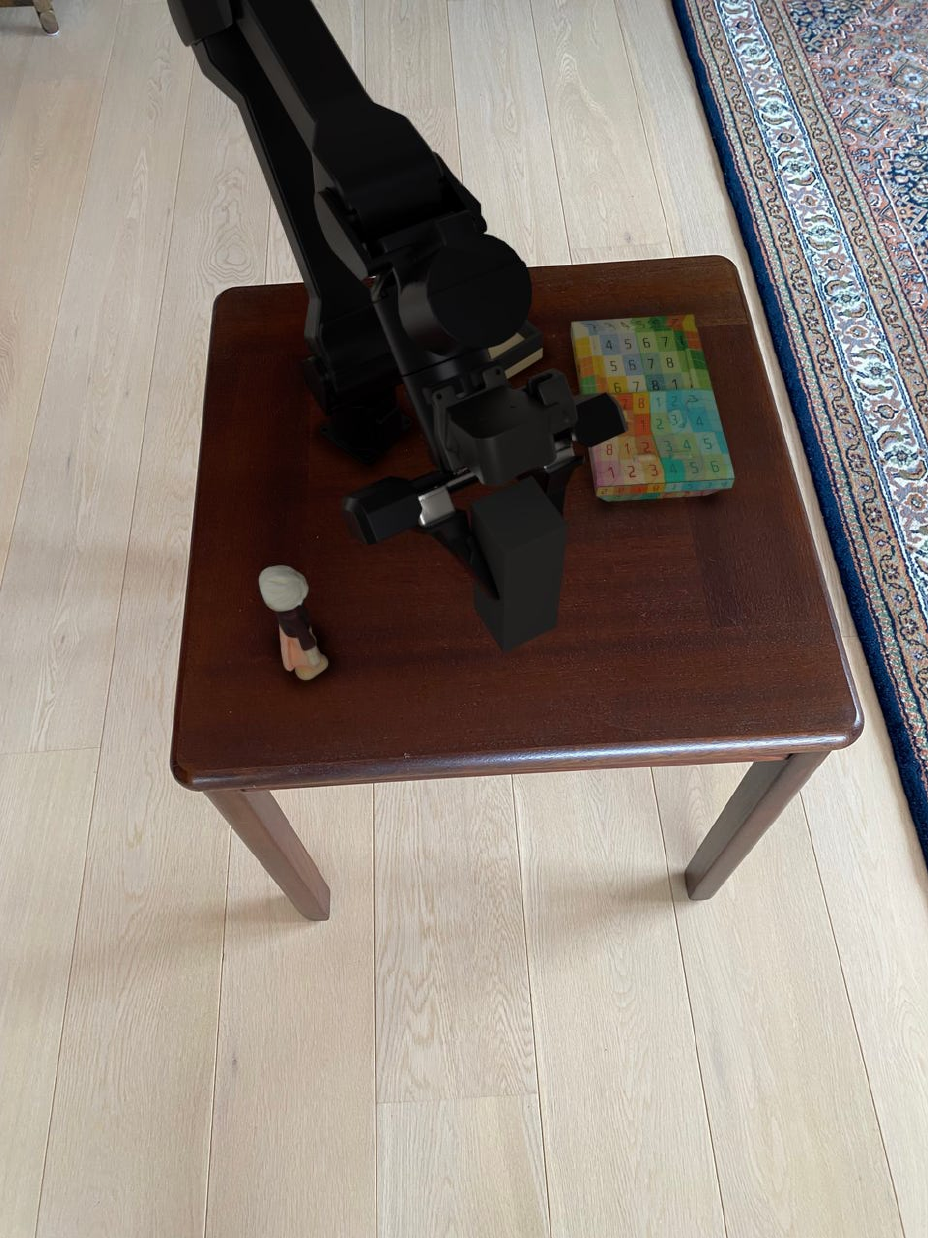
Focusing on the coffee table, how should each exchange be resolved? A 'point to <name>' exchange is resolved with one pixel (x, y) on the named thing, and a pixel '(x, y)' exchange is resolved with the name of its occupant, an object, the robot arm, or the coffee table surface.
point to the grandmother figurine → (292, 620)
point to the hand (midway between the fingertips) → (526, 584)
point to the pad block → (519, 561)
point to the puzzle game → (653, 408)
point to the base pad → (519, 349)
